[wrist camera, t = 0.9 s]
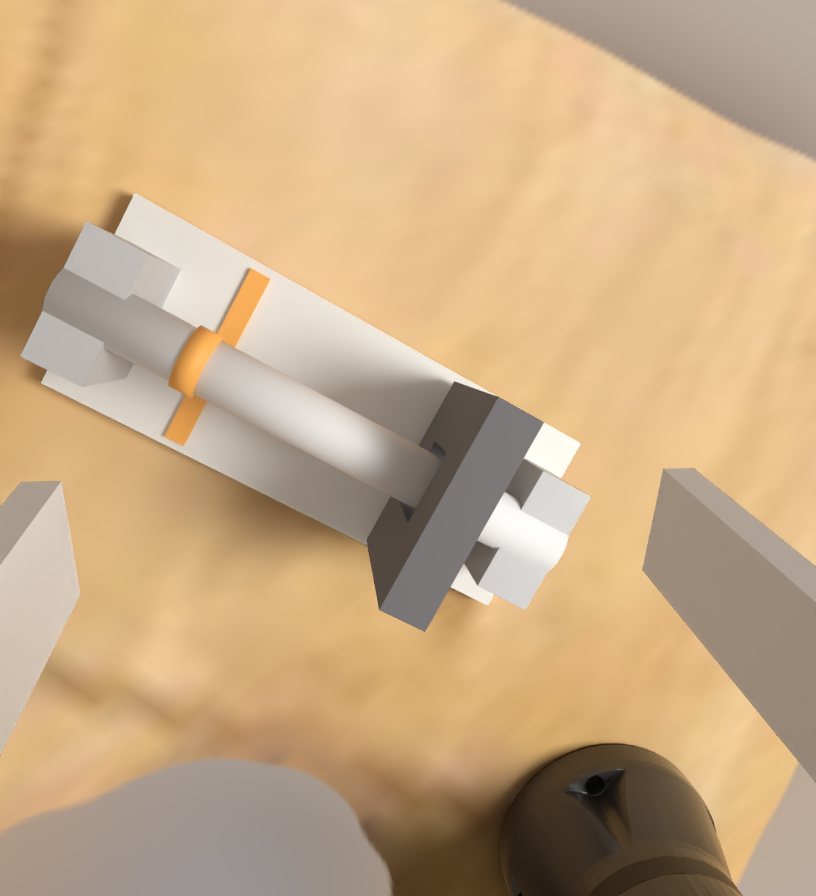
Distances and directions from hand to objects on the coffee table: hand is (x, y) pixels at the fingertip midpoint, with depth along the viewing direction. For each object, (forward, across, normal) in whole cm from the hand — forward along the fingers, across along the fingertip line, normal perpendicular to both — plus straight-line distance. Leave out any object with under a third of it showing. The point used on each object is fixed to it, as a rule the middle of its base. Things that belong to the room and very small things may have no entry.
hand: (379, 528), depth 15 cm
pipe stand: (+27, 0, +7) cm, 28 cm away
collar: (+24, -6, +10) cm, 27 cm away
